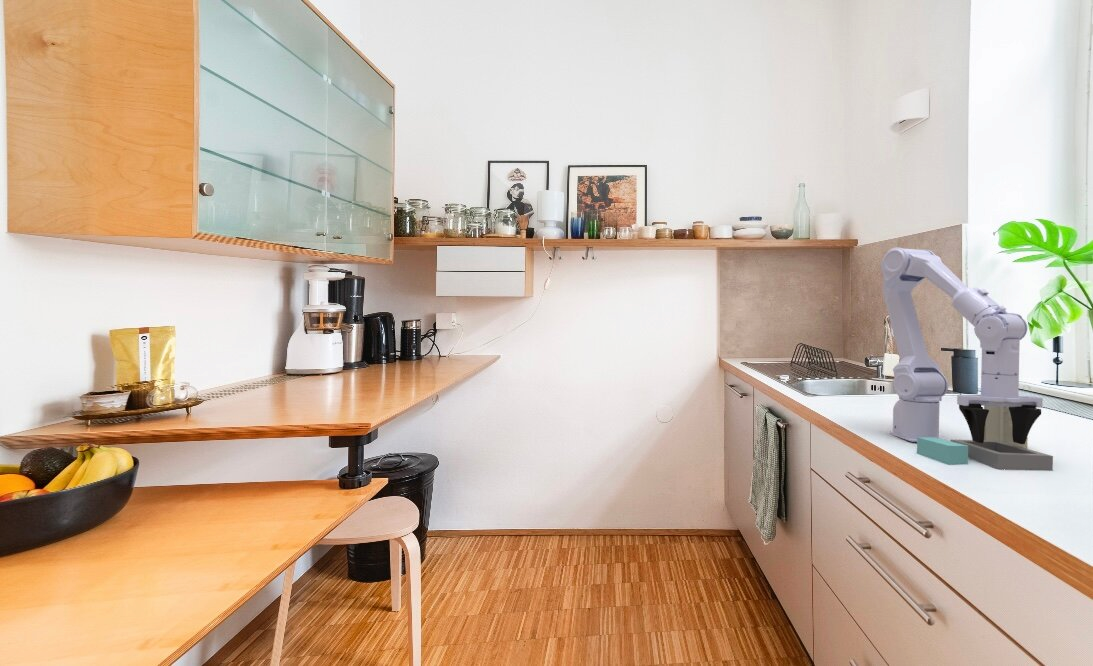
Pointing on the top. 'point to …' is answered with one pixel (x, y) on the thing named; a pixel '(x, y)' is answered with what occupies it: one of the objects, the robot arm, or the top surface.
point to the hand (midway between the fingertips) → (998, 442)
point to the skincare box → (1000, 425)
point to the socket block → (1007, 456)
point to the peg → (942, 450)
